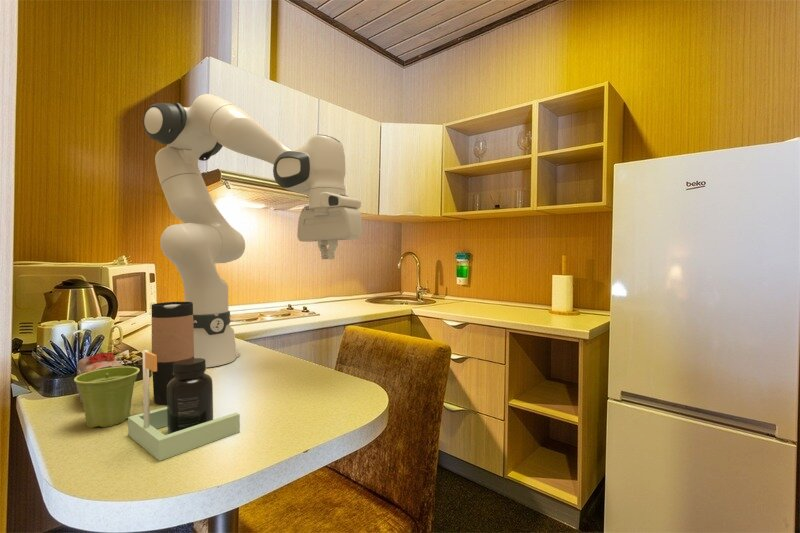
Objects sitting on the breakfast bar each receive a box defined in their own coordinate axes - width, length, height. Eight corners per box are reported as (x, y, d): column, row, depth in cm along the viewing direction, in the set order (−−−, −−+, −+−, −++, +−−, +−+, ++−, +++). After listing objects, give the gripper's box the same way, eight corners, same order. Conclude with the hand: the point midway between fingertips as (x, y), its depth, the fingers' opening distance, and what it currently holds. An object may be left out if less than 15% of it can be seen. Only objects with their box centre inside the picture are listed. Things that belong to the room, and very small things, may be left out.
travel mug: (177, 390, 86) (176, 301, 86) (202, 395, 83) (201, 302, 83) (143, 402, 79) (142, 304, 79) (170, 407, 76) (168, 306, 76)
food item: (132, 402, 79) (131, 354, 79) (82, 414, 73) (81, 362, 73) (115, 388, 88) (114, 345, 88) (69, 397, 82) (68, 351, 82)
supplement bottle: (221, 424, 68) (221, 356, 68) (195, 442, 62) (194, 367, 61) (187, 422, 69) (186, 355, 69) (157, 439, 63) (156, 365, 62)
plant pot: (149, 418, 71) (148, 371, 71) (86, 438, 63) (85, 385, 63) (127, 407, 76) (126, 363, 76) (66, 424, 69) (65, 375, 68)
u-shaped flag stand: (128, 435, 64) (126, 345, 64) (203, 412, 74) (202, 333, 74) (159, 461, 56) (157, 357, 56) (239, 431, 65) (238, 343, 65)
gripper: (291, 205, 99) (291, 259, 99) (346, 196, 86) (346, 259, 86) (311, 207, 104) (311, 259, 104) (366, 200, 91) (366, 259, 91)
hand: (327, 259), depth 95 cm, fingers closed
